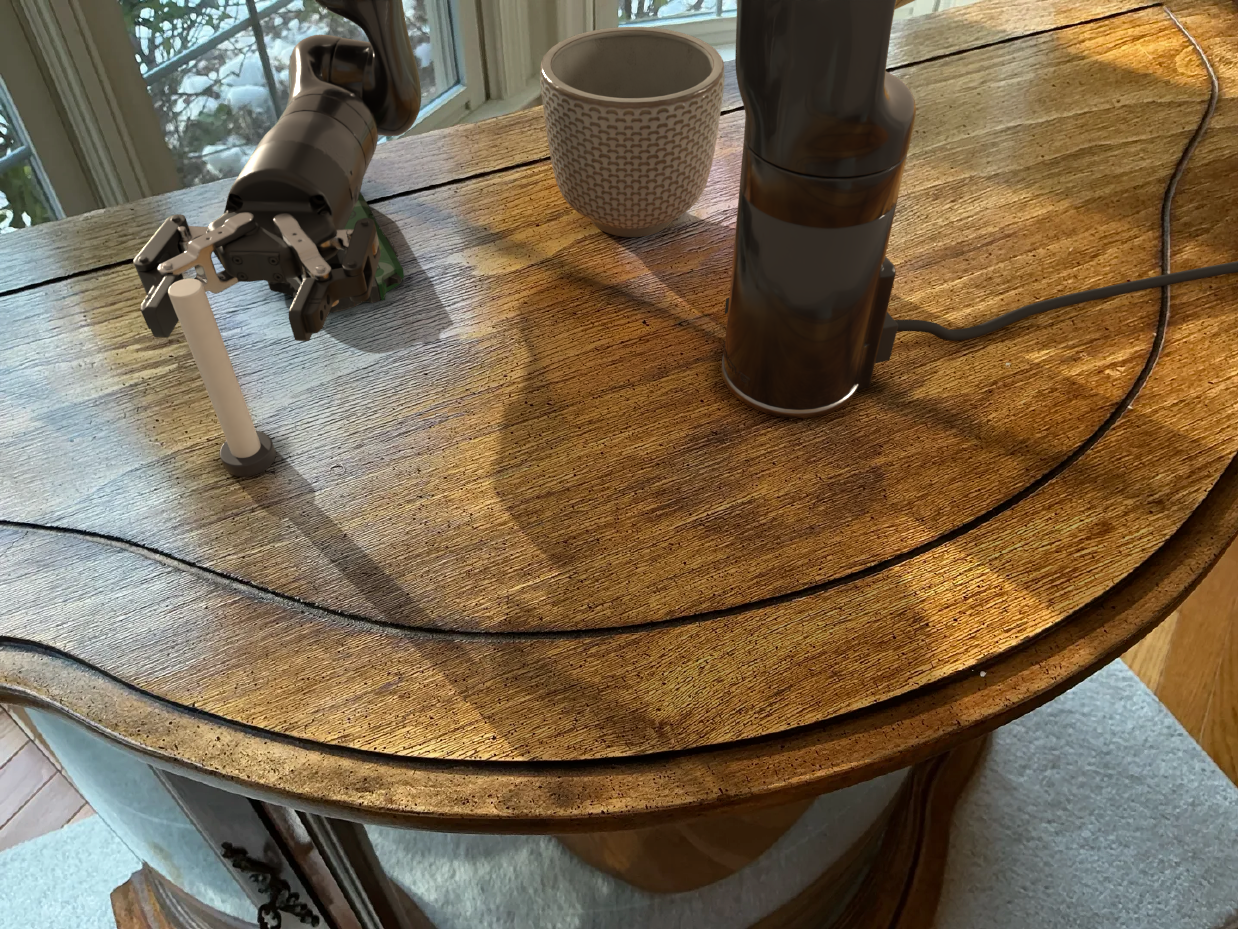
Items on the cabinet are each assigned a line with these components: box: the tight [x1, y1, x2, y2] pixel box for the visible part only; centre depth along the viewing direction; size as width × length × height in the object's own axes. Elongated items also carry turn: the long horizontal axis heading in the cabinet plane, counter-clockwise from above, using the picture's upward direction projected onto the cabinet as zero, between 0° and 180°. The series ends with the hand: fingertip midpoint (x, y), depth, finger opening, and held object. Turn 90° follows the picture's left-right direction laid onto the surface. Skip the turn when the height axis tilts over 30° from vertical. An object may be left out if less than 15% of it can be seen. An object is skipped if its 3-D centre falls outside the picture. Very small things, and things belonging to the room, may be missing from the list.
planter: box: [539, 26, 726, 238], centre depth 78 cm, size 14×14×13 cm
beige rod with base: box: [168, 278, 277, 478], centre depth 58 cm, size 3×3×13 cm
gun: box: [266, 191, 405, 313], centre depth 78 cm, size 16×1×10 cm
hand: (226, 327), depth 58 cm, fingers open, 8 cm apart
